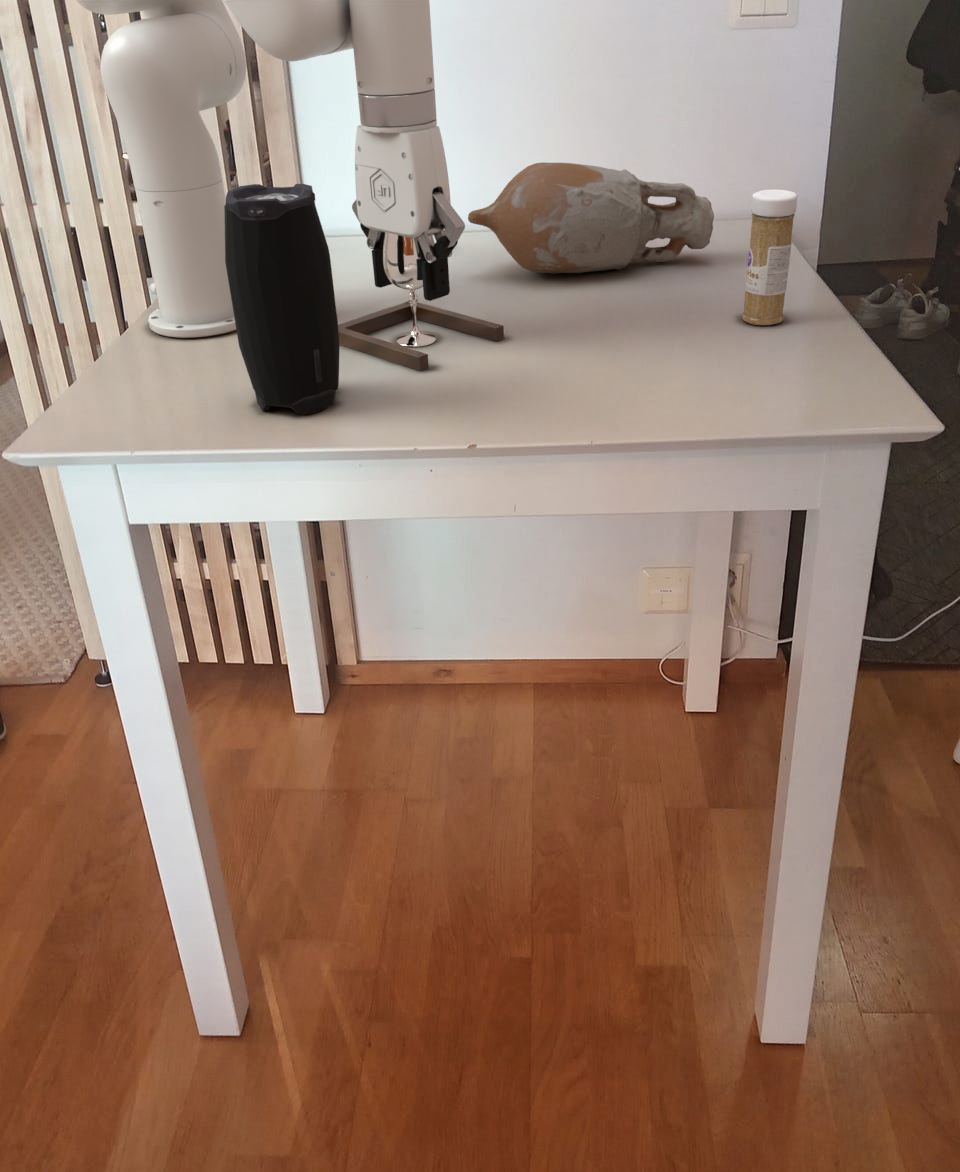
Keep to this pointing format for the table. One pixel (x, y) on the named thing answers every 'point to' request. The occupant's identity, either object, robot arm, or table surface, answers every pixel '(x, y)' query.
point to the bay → (357, 328)
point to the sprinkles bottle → (769, 256)
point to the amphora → (592, 218)
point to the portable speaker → (282, 296)
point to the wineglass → (406, 279)
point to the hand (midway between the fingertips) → (411, 289)
